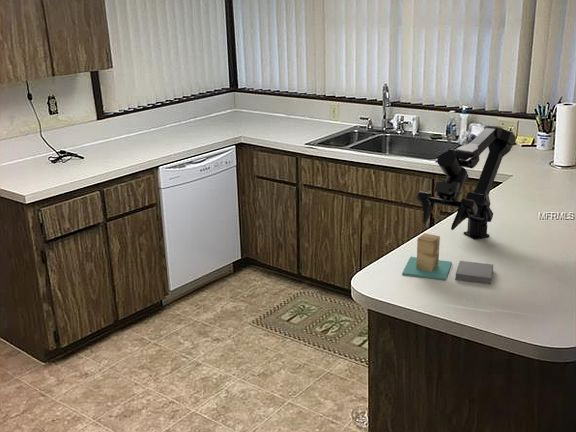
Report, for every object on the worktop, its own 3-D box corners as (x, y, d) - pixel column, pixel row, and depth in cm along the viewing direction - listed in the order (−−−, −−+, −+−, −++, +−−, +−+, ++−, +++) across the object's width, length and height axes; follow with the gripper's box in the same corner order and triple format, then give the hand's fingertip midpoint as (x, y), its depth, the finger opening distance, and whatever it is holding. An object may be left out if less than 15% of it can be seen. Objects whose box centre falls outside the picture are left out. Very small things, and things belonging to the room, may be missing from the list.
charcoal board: (459, 266, 198) (459, 260, 197) (493, 270, 194) (493, 264, 193) (455, 279, 189) (455, 273, 188) (490, 284, 185) (490, 278, 185)
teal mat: (410, 258, 204) (410, 256, 204) (451, 263, 200) (451, 261, 200) (402, 274, 193) (402, 272, 193) (445, 280, 188) (445, 278, 188)
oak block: (423, 262, 200) (424, 233, 196) (438, 266, 197) (439, 236, 193) (416, 268, 196) (417, 238, 192) (431, 271, 193) (432, 241, 190)
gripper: (419, 166, 201) (402, 209, 196) (477, 175, 190) (460, 220, 185) (429, 184, 209) (413, 225, 205) (484, 193, 199) (468, 236, 194)
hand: (437, 226), depth 197 cm, fingers open, 9 cm apart
